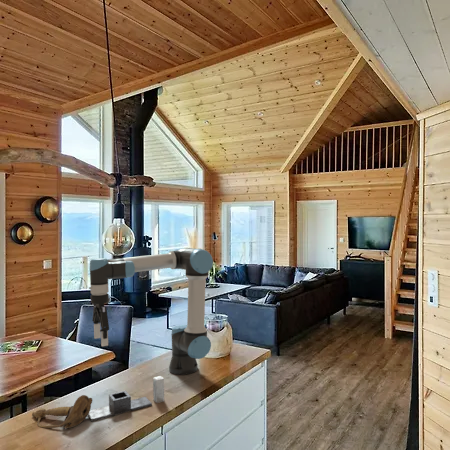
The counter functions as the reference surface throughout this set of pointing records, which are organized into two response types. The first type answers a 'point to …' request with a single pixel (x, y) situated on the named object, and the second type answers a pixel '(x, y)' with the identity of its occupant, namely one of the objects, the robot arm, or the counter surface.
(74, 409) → the sword hilt
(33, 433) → the counter surface
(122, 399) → the square socket bracket
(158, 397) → the beige rectangular block
